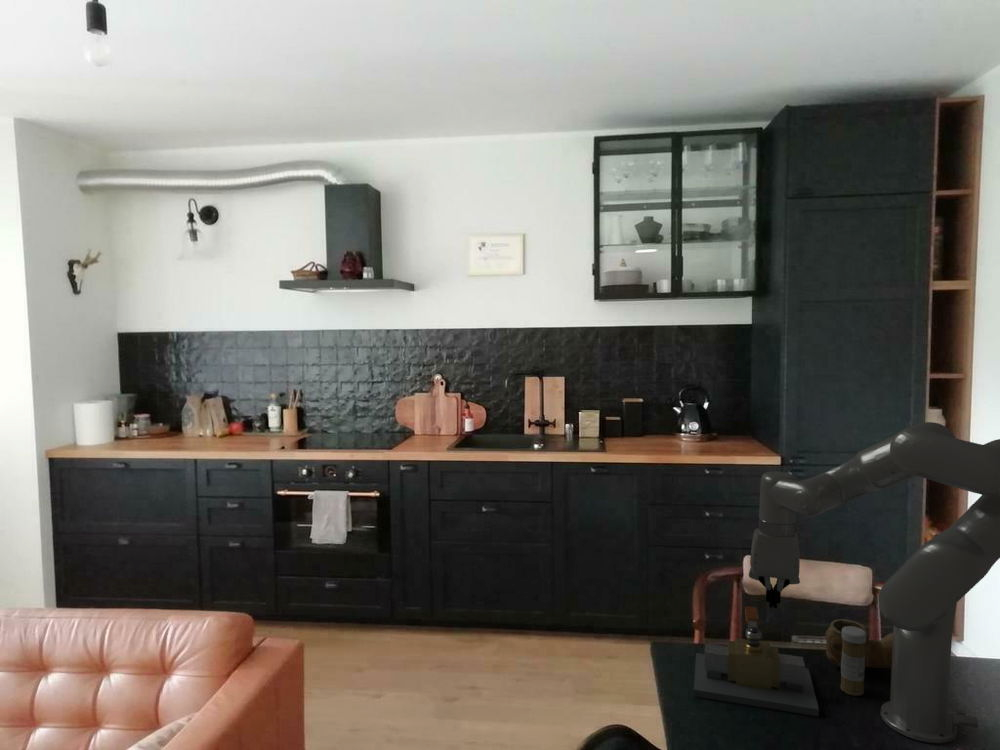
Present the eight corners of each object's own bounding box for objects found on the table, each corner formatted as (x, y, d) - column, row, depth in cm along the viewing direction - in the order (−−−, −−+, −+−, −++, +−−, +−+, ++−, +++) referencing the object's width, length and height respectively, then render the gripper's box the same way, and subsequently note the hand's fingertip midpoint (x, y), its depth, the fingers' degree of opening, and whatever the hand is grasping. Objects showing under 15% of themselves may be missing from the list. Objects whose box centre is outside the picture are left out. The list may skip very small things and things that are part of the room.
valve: (801, 677, 144) (802, 636, 143) (805, 695, 137) (806, 651, 136) (704, 663, 150) (705, 623, 149) (704, 679, 143) (704, 638, 142)
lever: (762, 641, 141) (762, 633, 140) (746, 639, 142) (746, 631, 141) (758, 613, 154) (758, 605, 154) (743, 611, 155) (743, 603, 155)
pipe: (912, 683, 144) (914, 638, 143) (833, 678, 146) (835, 635, 145) (893, 661, 153) (895, 619, 152) (819, 657, 155) (820, 616, 154)
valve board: (808, 675, 147) (808, 668, 147) (818, 716, 132) (818, 709, 132) (696, 659, 155) (696, 653, 155) (693, 696, 140) (693, 689, 140)
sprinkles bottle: (852, 683, 144) (854, 624, 143) (869, 695, 139) (871, 633, 138) (834, 686, 143) (836, 626, 142) (851, 698, 138) (853, 636, 137)
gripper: (810, 525, 150) (806, 603, 152) (740, 518, 155) (737, 594, 157) (815, 536, 143) (810, 617, 145) (741, 529, 148) (738, 607, 149)
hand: (772, 605), depth 151 cm, fingers closed
